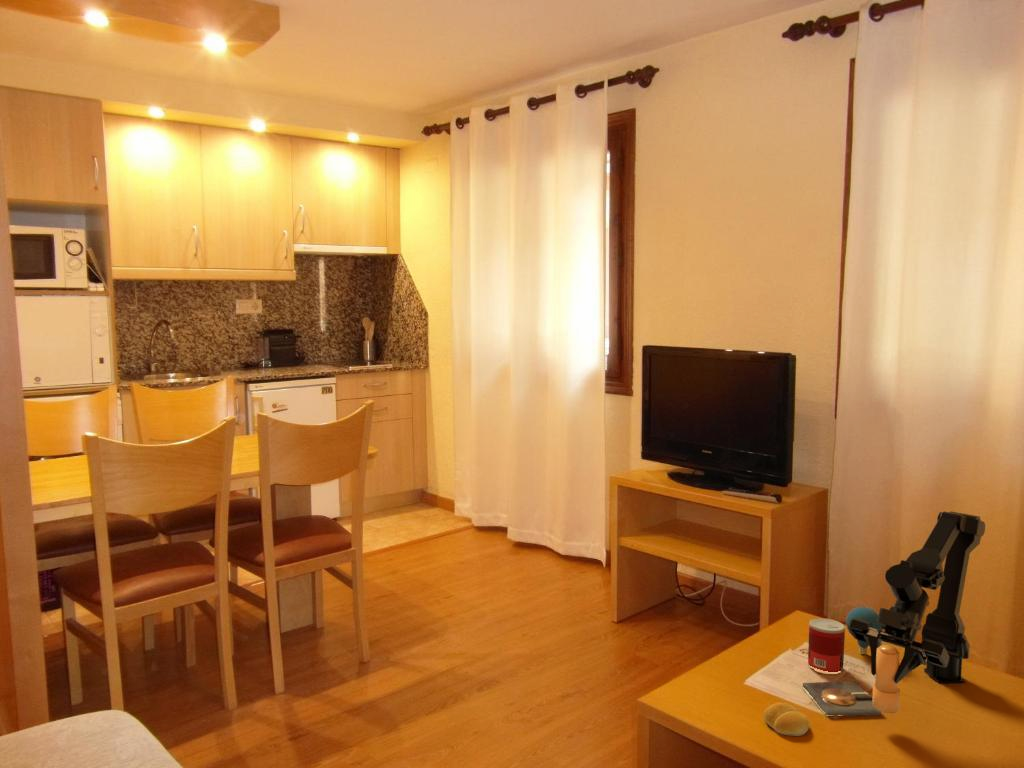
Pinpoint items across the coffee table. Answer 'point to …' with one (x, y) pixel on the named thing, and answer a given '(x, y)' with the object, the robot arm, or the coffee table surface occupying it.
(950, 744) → the coffee table surface
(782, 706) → the bread roll
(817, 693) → the plate
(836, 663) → the canned food
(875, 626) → the light bulb
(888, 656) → the tapered peach knob
